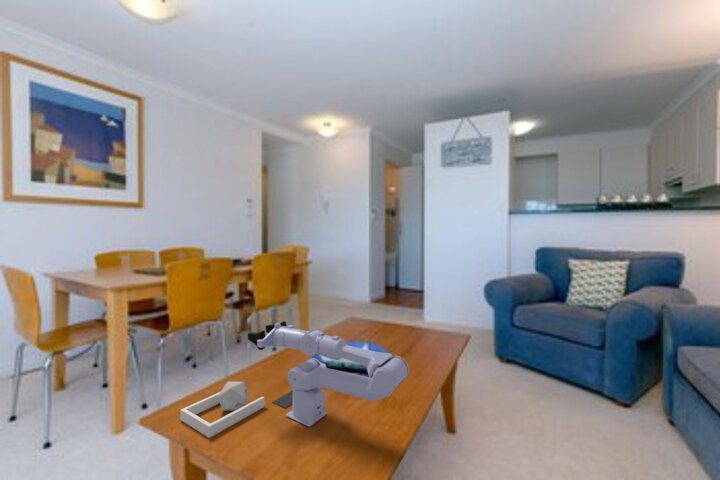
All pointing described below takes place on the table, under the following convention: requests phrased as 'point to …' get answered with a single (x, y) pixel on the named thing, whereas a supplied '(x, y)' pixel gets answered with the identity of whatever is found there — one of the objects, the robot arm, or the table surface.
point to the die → (233, 396)
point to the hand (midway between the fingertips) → (257, 332)
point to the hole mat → (285, 400)
